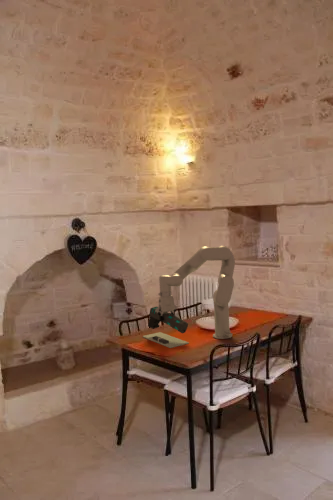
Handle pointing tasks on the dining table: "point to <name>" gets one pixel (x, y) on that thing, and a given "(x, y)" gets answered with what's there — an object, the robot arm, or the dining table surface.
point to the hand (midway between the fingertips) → (166, 320)
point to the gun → (166, 321)
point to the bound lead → (160, 340)
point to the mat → (172, 340)
